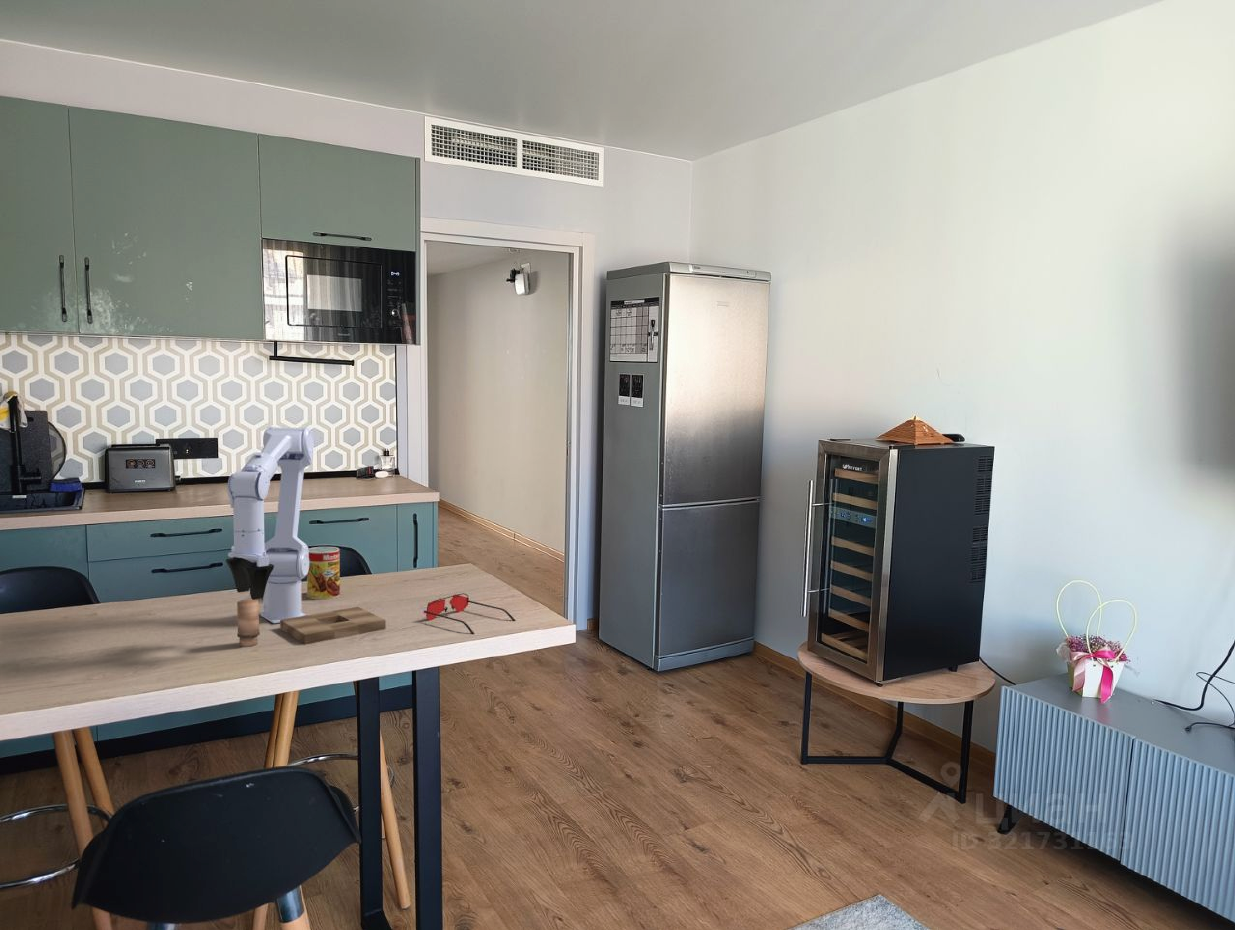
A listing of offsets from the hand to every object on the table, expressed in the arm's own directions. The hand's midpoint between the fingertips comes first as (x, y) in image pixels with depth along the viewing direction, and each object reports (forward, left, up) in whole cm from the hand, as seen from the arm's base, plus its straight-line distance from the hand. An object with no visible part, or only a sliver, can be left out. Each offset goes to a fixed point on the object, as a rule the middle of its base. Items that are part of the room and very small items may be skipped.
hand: (250, 595), depth 168 cm
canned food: (-30, +28, -11) cm, 42 cm away
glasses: (+12, +45, -11) cm, 48 cm away
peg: (-1, 0, -10) cm, 10 cm away
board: (-1, +18, -10) cm, 21 cm away
